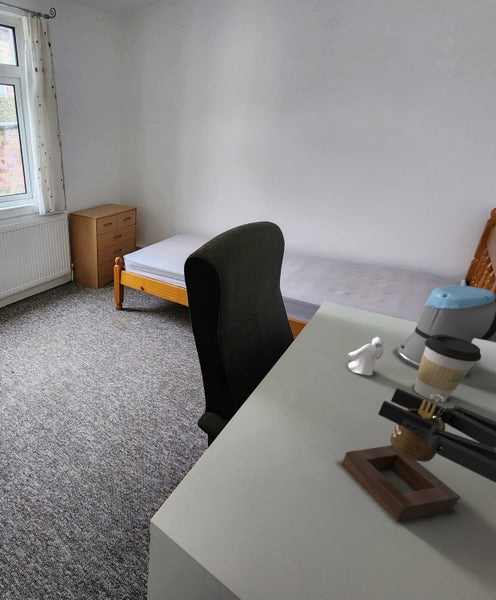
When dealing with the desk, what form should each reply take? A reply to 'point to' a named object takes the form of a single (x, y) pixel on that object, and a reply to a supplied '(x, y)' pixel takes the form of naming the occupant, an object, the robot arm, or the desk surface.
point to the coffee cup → (444, 365)
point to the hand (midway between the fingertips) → (388, 401)
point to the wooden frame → (399, 505)
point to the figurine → (366, 357)
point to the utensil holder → (416, 435)
